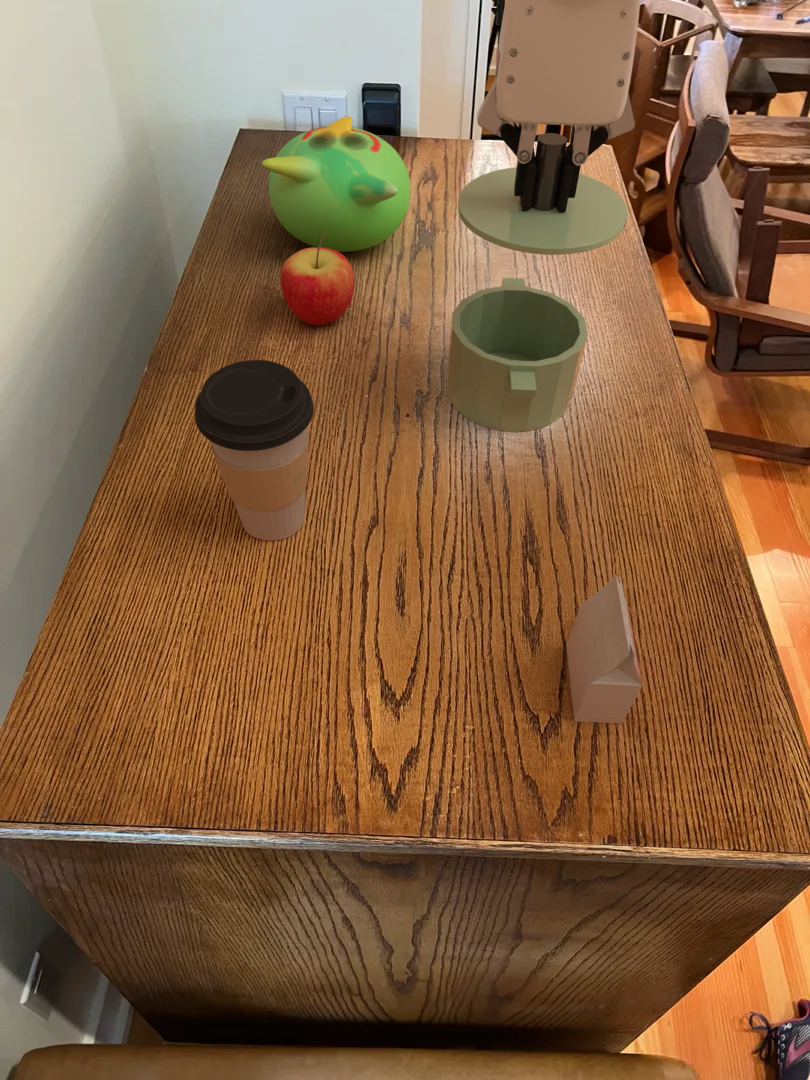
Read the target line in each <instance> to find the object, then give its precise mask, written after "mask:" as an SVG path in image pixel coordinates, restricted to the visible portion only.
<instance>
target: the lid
mask: <svg viewBox="0 0 810 1080" xmlns="http://www.w3.org/2000/svg"><path fill="white" fill-rule="evenodd" d="M567 146H568V138H567V137H566V136H564V135H562V134H559V133H554V132H553V133H552V132H546V133H542V134H540V135H538V137H537V141H536V149H535V160H536V175H535V182H534V189H533V196H532V203H531V209H528V211H522V207H521V198H520V196H514V185H515V176H516V168H517V166H515V167H507V168H502V169H497V170H493V171H490V172H487V173H485V174H481V175H479V176H478V177H476V178H473V179H472V180H471V181H469V182H468V183H467V184H466V185H465V186H464V187H463V188H462V189H461V191H460V193H459V195H458V200H457V213H458V216H459V218H460V220H461V221H462V223H463V225H464V226H465V227H466V228H467V229H468V230H469V231H471V232H472V233H473V234H474V235H475V236H478V237H479V238H481V239H483V241H487V242H488V243H491V244H494V245H496V246H499V247H502V248H504V249H507V250H512V251H516V252H520V253H526V254H532V255H544V256H548V255H549V256H561V255H562V256H563V255H573V254H580V253H585V252H589V251H594V250H596V249H600V248H602V247H603V246H604V247H605V246H606V245H608V244H609V243H611V242H613V241H614V240H616V239H617V238H618V237H619V236H620V235H621V234H622V233H623V231H624V230H625V227H626V225H627V223H628V222H627V221H628V215H629V212H628V207H627V204H626V202H625V201H624V198H622V196H621V195H620V194H619V193H618V192H617V191H615V190H614V189H613V188H611V187H610V186H609V185H607V184H606V183H604V182H602V181H600V180H598V179H596V178H594V177H591V176H588V175H585V174H582V173H579V178H578V184H577V189H576V194H575V198H568V203H567V208H566V212H559V210H557V206H556V204H557V198H558V192H559V186H560V180H561V174H562V168H563V162H564V156H565V150H566V147H567Z"/></svg>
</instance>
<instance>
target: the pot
mask: <svg viewBox="0 0 810 1080" xmlns="http://www.w3.org/2000/svg"><path fill="white" fill-rule="evenodd" d="M450 323H451V324H450V325H451V326H450V336H449V349H448V359H447V370H446V371H447V373H446V392H447V396H448V399H449V400H450V402H451V404H452V405H453V407H454V408H455V409H456V410H457V411H458V412H459V413H460V414H461V415H463V416H464V417H465V418H467V420H470V421H472V422H473V423H475V424H478V425H480V426H483V427H484V428H488V429H491V430H495V431H502V432H512V433H514V432H515V433H517V432H520V433H521V432H530V431H536V430H539V429H542V428H545V427H548V426H550V425H552V424H553V423H556V421H558V420H559V419H561V418H562V416H563V415H564V414H565V413H566V412H567V411H568V409H569V407H570V405H571V401H572V399H573V397H574V394H575V389H576V385H577V381H578V377H579V373H580V368H581V366H582V365H581V364H582V361H583V357H584V352H585V349H586V345H587V341H588V340H587V339H588V336H589V331H588V328H587V327H588V326H587V323H586V318H585V317H584V316H583V315H582V313H580V311H579V310H578V309H577V308H576V307H575V306H574V305H573V304H572V303H571V302H569V301H567V300H566V299H563V298H562V297H560V296H558V295H556V294H554V293H553V292H549V291H546V290H542V289H538V288H534V287H531V286H526V282H525V278H522V277H521V278H518V277H502V278H501V285H500V286H495V287H489V288H485V289H480V290H478V291H476V292H474V293H472V294H470V295H468V296H466V297H464V298H463V299H461V300H460V302H459V304H458V305H457V306H456V307H455V308H454V310H453V312H452V313H451V322H450Z"/></svg>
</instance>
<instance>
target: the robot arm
mask: <svg viewBox="0 0 810 1080" xmlns="http://www.w3.org/2000/svg"><path fill="white" fill-rule="evenodd" d="M640 8H641V0H505V4H504V9H503V14H502V21H501V27H500V34H499V41H498V48H497V54H496V64H495V72H494V80H493V82H492V84H491V86H490V88H489V90H488V92H487V93H486V96H485V98H484V100H483V101H482V103H481V105H480V107H479V109H478V111H477V114H476V119H477V125H478V127H480V128H482V129H484V130H486V131H488V132H489V133H491V134H493V135H495V136H498V137H500V138H501V140H502V142H504V143H505V145H506V146H507V147H508V148H509V149H510V151H511V152H512V153H513V154H514V155H515V157H516V159H517V161H516V167H517V168H516V176H515V185H514V196H520V198H521V207H522V211H528V209H531V203H532V196H533V189H534V182H535V175H536V160H535V155H536V151H535V140H536V135H537V130H538V125H552V126H570V134H569V141H568V144H567V145H566V150H565V156H564V162H563V168H562V174H561V180H560V186H559V192H558V198H557V204H556V206H557V210H559V212H566V208H567V203H568V198H575V194H576V189H577V184H578V178H579V174H581V173H580V172H581V166H582V165H584V164H585V163H586V162H587V159H588V157H590V156H591V155H592V154H593V153H594V152H596V151H597V150H598V149H599V148H600V147H602V146H603V145H604V144H605V143H607V141H608V140H610V139H611V140H612V139H615V138H617V137H620V136H623V135H625V134H627V133H629V132H631V131H633V130H634V128H635V126H636V122H635V118H634V113H633V112H634V111H633V108H632V103H631V99H630V94H629V90H630V85H631V79H632V74H633V73H632V72H633V67H634V66H633V65H634V60H635V59H634V58H635V51H636V43H637V35H638V29H639V28H638V27H639V19H640V10H641V9H640Z"/></svg>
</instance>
